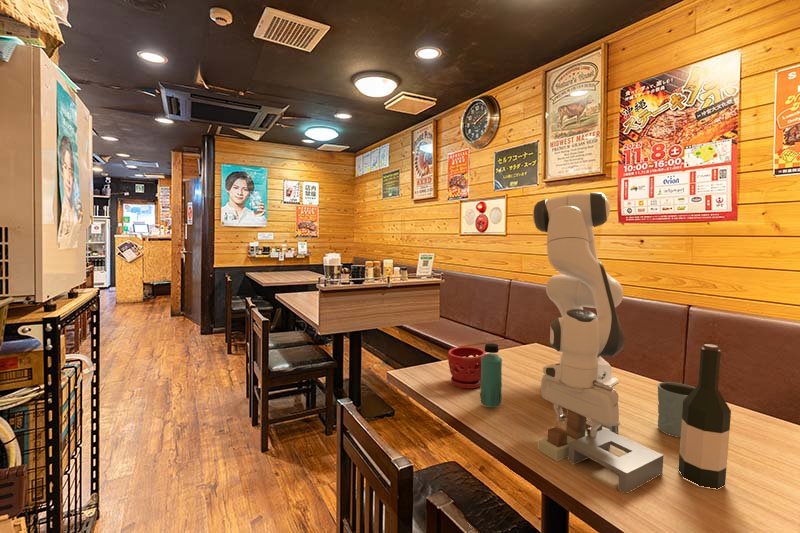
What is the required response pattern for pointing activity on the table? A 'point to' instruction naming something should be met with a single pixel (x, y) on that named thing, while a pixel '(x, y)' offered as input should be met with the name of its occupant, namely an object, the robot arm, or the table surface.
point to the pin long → (575, 425)
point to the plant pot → (465, 366)
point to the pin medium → (557, 436)
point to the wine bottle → (705, 426)
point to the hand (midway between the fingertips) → (576, 428)
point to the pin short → (589, 424)
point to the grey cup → (671, 406)
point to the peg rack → (554, 450)
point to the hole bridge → (618, 458)
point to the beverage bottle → (491, 377)
